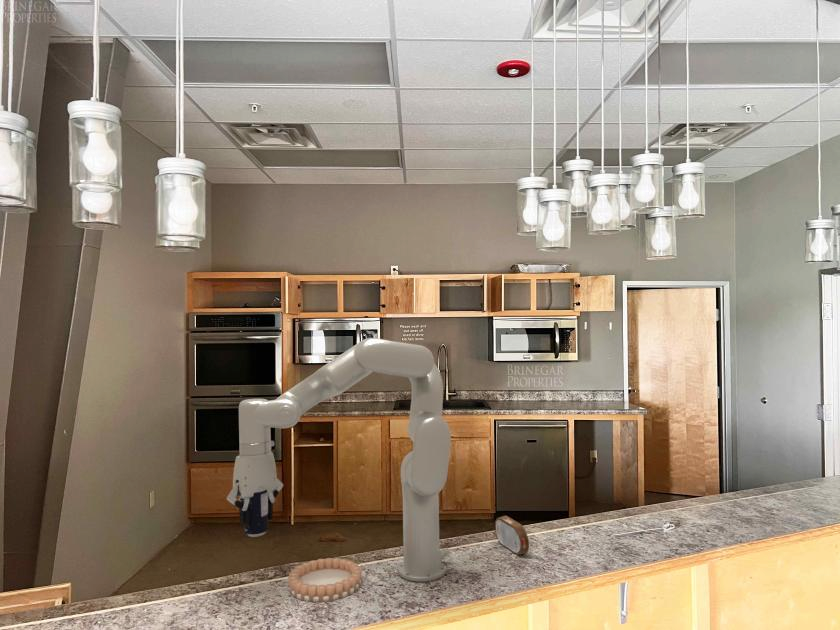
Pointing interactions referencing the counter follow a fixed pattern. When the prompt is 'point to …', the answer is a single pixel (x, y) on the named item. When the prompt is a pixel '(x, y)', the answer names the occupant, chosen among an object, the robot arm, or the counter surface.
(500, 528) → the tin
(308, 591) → the round dish
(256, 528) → the beverage can
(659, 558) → the counter surface
